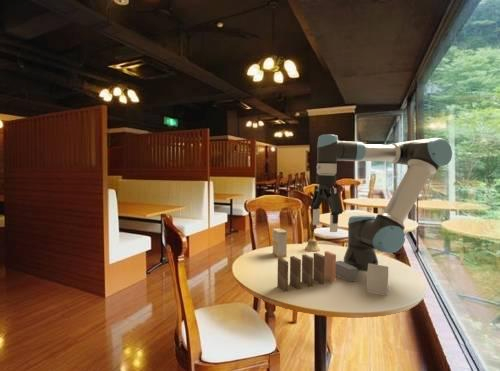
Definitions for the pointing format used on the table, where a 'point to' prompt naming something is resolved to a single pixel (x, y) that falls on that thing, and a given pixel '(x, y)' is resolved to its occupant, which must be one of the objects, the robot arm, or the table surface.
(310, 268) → the walnut tile
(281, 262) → the walnut tile
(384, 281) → the beige boxy piece
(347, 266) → the block
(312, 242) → the hand bell
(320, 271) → the walnut tile
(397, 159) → the robot arm
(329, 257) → the terracotta tile
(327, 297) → the table surface
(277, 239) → the supplement box
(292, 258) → the walnut tile
